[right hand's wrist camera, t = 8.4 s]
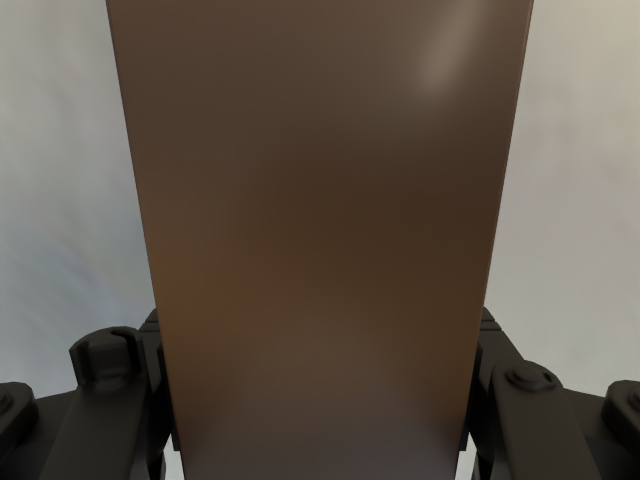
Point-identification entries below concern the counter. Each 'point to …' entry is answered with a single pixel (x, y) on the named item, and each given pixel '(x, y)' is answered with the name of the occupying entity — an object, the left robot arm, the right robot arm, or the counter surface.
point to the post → (319, 221)
